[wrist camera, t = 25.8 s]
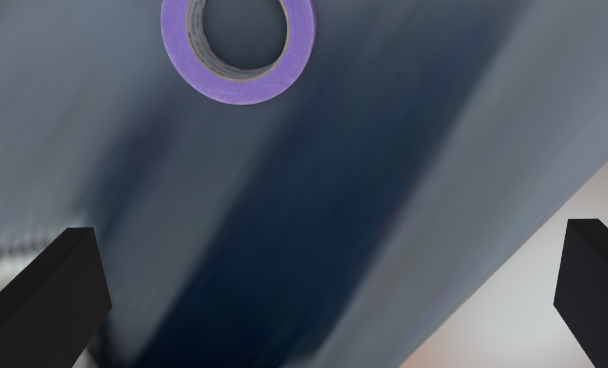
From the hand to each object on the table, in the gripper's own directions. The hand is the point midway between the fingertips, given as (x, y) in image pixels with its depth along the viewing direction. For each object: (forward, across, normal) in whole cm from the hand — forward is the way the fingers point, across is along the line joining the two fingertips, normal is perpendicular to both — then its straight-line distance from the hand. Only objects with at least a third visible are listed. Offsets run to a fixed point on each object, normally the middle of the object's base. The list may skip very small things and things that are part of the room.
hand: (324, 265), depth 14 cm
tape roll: (+32, -7, +4) cm, 33 cm away
